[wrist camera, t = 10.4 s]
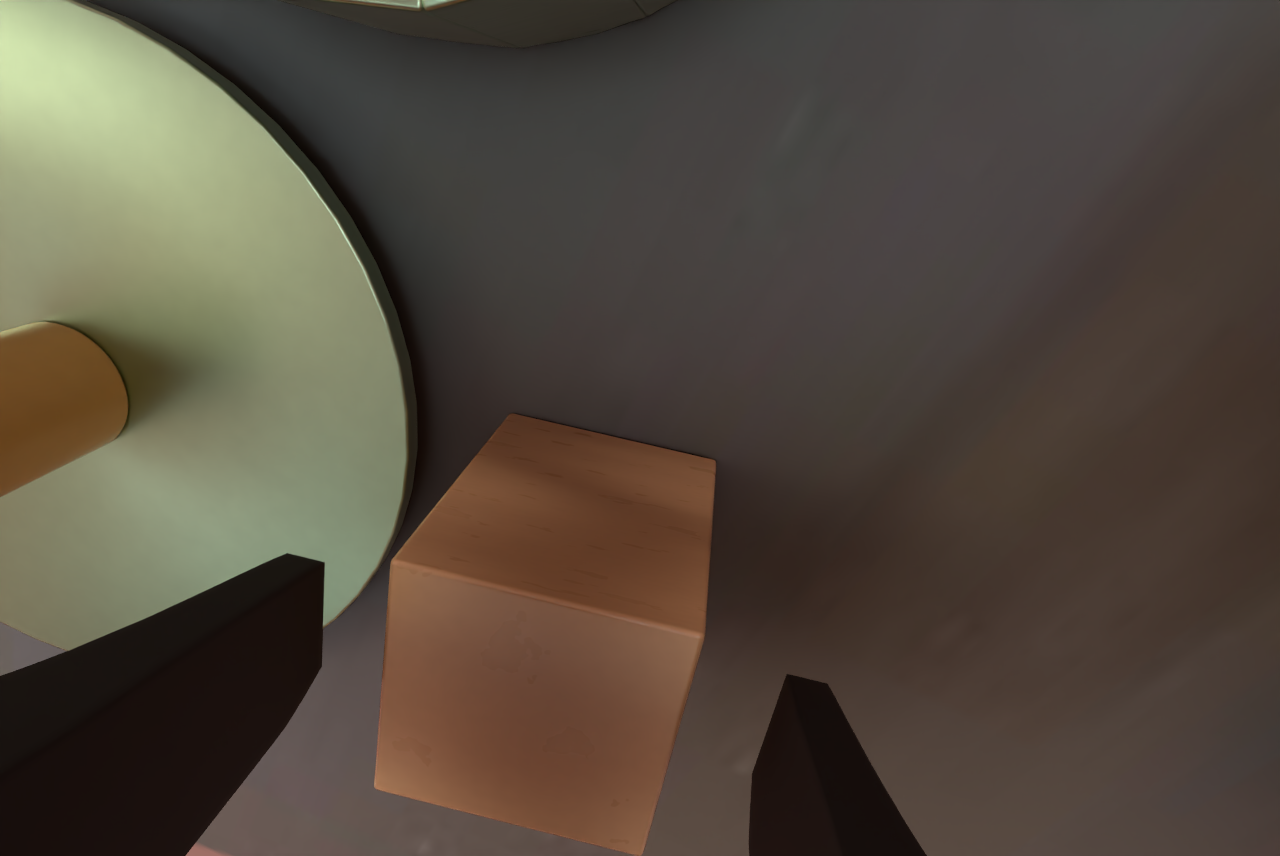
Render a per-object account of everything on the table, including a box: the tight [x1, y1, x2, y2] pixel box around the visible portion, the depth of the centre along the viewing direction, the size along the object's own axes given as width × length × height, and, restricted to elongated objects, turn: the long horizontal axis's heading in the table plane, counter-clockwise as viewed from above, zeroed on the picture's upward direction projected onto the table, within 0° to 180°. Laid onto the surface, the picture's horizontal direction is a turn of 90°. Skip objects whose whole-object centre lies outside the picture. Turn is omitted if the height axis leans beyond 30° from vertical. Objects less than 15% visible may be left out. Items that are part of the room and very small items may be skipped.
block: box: [374, 413, 716, 856], centre depth 13 cm, size 4×4×6 cm
